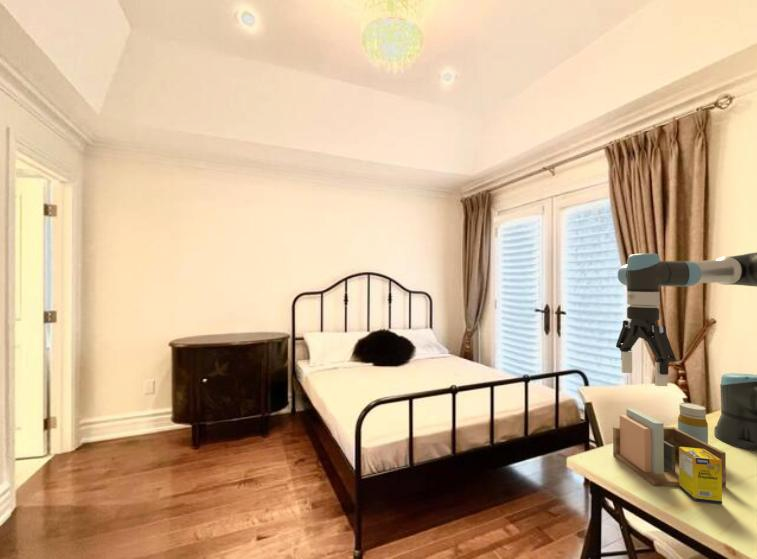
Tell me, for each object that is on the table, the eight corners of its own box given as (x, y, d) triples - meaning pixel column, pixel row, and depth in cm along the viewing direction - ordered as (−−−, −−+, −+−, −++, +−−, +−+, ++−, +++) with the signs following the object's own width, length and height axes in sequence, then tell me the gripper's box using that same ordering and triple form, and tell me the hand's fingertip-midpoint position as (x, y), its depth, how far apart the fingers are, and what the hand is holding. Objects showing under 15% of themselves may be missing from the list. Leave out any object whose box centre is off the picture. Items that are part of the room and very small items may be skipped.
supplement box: (723, 504, 83) (722, 460, 83) (694, 501, 84) (694, 457, 84) (704, 490, 89) (704, 448, 89) (678, 487, 90) (678, 446, 90)
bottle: (711, 461, 103) (710, 411, 104) (680, 454, 107) (680, 407, 107) (704, 451, 109) (704, 404, 109) (675, 445, 113) (675, 400, 113)
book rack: (674, 456, 106) (674, 427, 106) (725, 486, 90) (725, 452, 90) (613, 455, 107) (613, 426, 107) (653, 485, 91) (653, 452, 91)
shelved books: (634, 454, 105) (634, 408, 105) (663, 474, 94) (663, 423, 94) (619, 453, 105) (619, 408, 105) (647, 473, 94) (647, 423, 94)
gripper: (603, 303, 112) (603, 367, 112) (663, 309, 87) (663, 392, 87) (626, 303, 112) (626, 368, 112) (693, 309, 87) (693, 392, 87)
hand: (642, 378), depth 99 cm, fingers open, 13 cm apart
